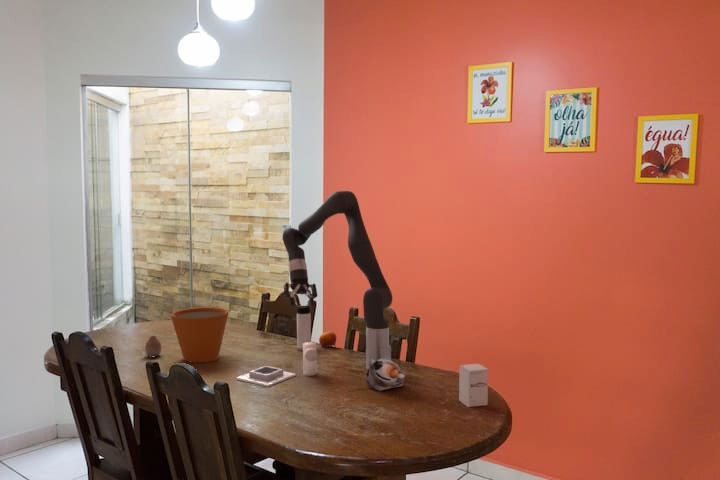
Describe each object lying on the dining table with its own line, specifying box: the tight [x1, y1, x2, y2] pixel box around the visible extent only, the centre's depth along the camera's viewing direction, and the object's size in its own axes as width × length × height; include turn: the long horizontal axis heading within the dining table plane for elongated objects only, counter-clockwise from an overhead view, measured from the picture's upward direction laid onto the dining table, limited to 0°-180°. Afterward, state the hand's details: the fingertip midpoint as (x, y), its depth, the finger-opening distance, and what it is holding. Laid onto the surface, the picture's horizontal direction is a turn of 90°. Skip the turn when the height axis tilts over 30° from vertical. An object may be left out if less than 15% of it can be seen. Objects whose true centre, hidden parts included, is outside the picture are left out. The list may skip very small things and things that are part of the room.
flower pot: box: [170, 306, 229, 363], centre depth 261 cm, size 24×24×20 cm
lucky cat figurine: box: [366, 359, 406, 392], centre depth 221 cm, size 15×12×14 cm
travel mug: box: [296, 305, 312, 352], centre depth 276 cm, size 6×7×20 cm
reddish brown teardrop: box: [144, 335, 163, 358], centre depth 265 cm, size 7×7×9 cm
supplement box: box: [458, 363, 489, 408], centre depth 206 cm, size 7×7×13 cm
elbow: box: [302, 341, 319, 377], centre depth 237 cm, size 9×5×12 cm, turn 12°
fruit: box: [318, 330, 337, 348], centre depth 281 cm, size 8×8×8 cm
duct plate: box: [236, 365, 297, 388], centre depth 234 cm, size 16×16×3 cm
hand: (302, 307), depth 255 cm, fingers open, 8 cm apart
